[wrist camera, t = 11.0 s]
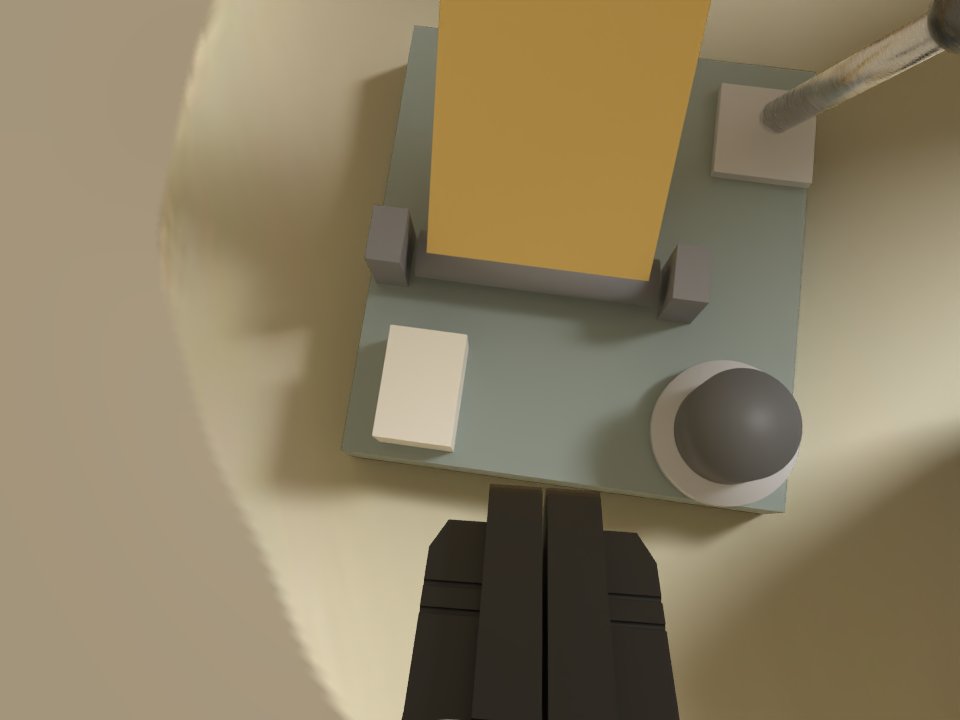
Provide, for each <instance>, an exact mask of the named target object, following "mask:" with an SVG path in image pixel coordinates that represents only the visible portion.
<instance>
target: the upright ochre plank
mask: <svg viewBox="0 0 960 720" xmlns="http://www.w3.org/2000/svg"><path fill="white" fill-rule="evenodd" d="M710 3H711V0H440V12H439V30H438V49H437V67H436V86H435V104H434V123H433V141H432V160H431V179H430V197H429V216H428V230H421V231H420V234H419V238H418V243H417V249H416V258H415V275H416V277H423V278H430V279H438V280H446V281H454V282H461V283H469V284H477V285H484V286H492V287H500V288H507V289H515V290H523V291H530V292H538V293H546V294H554V295H561V296H569V297H577V298H584V299H592V300H600V301H607V302H615V303H623V304H630V305H638V306H646V307H653V306H654V303H655V300H656V297H657V292H658V287H659V280H660V268H661V265H660V260H658V259H654V255H655V250H656V246H657V241H658V237H659V232H660V228H661V223H662V219H663V214H664V210H665V205H666V201H667V196H668V192H669V187H670V183H671V178H672V174H673V169H674V165H675V160H676V156H677V151H678V147H679V142H680V138H681V133H682V129H683V124H684V120H685V115H686V111H687V106H688V102H689V97H690V93H691V88H692V84H693V79H694V75H695V70H696V66H697V61H698V57H699V52H700V48H701V43H702V39H703V34H704V30H705V25H706V21H707V16H708V12H709V7H710Z"/></svg>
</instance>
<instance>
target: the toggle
mask: <svg viewBox="0 0 960 720" xmlns="http://www.w3.org/2000/svg"><path fill="white" fill-rule="evenodd" d="M945 50H946V51H949V52H951V53H956V54H960V0H932V2H931V4H930V7H929V10H928V13H926V14H924V15H923V16H921V17H919V18H917V19H915V20H914V21H912V22H910V23H908V24H907V25H905V26H903V27H901V28H900V29H898V30H896V31H894V32H892V33H891V34H889V35H887V36H885V37H884V38H882V39H880V40H878V41H876V42H875V43H873V44H871V45H869V46H868V47H866V48H864V49H862V50H861V51H859V52H857V53H855V54H853V55H852V56H850V57H848V58H846V59H845V60H843V61H841V62H839V63H837V64H836V65H834V66H832V67H830V68H829V69H827V70H825V71H823V72H821V73H820V74H818V75H816V76H814V77H813V78H811V79H809V80H807V81H806V82H804V83H802V84H800V85H798V86H797V87H795V88H793V89H791V90H790V91H788V92H786V93H784V94H782V95H781V96H779V97H777V98H775V99H774V100H772V101H770V102H768V103H767V104H766V105H765V106H764V107H763V108H762V110H761V112H760V115H759V122H760V125H761V127H762V128H763V130H765V131H766V132H768V133H770V134H781V133H783V132H785V131H787V130H789V129H791V128H793V127H795V126H797V125H799V124H801V123H803V122H805V121H807V120H809V119H811V118H813V117H815V116H817V115H819V114H821V113H823V112H825V111H827V110H829V109H831V108H833V107H835V106H837V105H838V104H840V103H842V102H844V101H846V100H848V99H850V98H852V97H854V96H856V95H858V94H860V93H862V92H864V91H866V90H868V89H870V88H872V87H874V86H876V85H878V84H880V83H882V82H884V81H886V80H888V79H890V78H892V77H894V76H896V75H898V74H900V73H902V72H904V71H906V70H907V69H909V68H911V67H913V66H915V65H917V64H919V63H921V62H923V61H925V60H927V59H929V58H931V57H933V56H935V55H937V54H939V53H941V52H943V51H945Z"/></svg>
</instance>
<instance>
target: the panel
mask: <svg viewBox="0 0 960 720" xmlns="http://www.w3.org/2000/svg"><path fill="white" fill-rule="evenodd" d="M438 30H439V28H432V27H424V26H415V25H414V30H413V36H412V42H411V47H410V53H409V59H408V65H407V71H406V76H405V82H404V88H403V94H402V100H401V105H400V111H399V117H398V123H397V128H396V134H395V140H394V146H393V152H392V157H391V163H390V169H389V175H388V181H387V186H386V192H385V198H384V204H383V206H381V205H374V206H373V212H372V218H371V224H370V229H369V235H368V241H367V246H366V252H365V260H366V262H367V265H368V267H369V269H370V271H371V279H370V285H369V290H368V296H367V302H366V308H365V314H364V319H363V325H362V331H361V337H360V342H359V348H358V354H357V360H356V366H355V371H354V377H353V383H352V389H351V395H350V400H349V406H348V412H347V418H346V423H345V429H344V435H343V441H342V447H341V451H343V452H345V453H347V454H349V455H351V456H354V457H361V458H368V459H375V460H382V461H389V462H397V463H404V464H411V465H418V466H425V467H432V468H439V469H446V470H453V471H461V472H468V473H475V474H482V475H489V476H496V477H503V478H510V479H517V480H525V481H532V482H539V483H546V484H553V485H560V486H567V487H574V488H581V489H589V490H596V491H603V492H610V493H617V494H624V495H631V496H638V497H645V498H653V499H660V500H667V501H674V502H681V503H688V504H695V505H702V506H709V507H717V508H724V509H731V510H738V511H745V512H752V513H759V514H772V513H785V503H786V488H787V478H788V476H789V474H790V473H791V471H792V469H793V467H794V465H795V463H796V460H797V456H798V453H799V447H800V441H801V436H802V419H801V414H800V410H799V407H798V405H797V402H796V401H795V399H794V397H793V388H794V374H795V359H796V345H797V331H798V316H799V302H800V288H801V274H802V259H803V245H804V231H805V216H806V202H807V189H808V187H809V186H810V185H811V184H812V177H813V163H814V148H815V134H816V119H817V116H815V117H813V118H811V119H809V120H807V121H805V122H803V123H801V124H799V125H797V126H795V127H793V128H791V129H789V130H787V131H785V132H783V133H781V134H770V133H768V132H766V131H765V130H763V128H762V127H761V125H760V122H759V115H760V112H761V110H762V108H763V107H764V106H765V105H766V104H767V103H768V102H770V101H772V100H774V99H775V98H777V97H779V96H781V95H782V94H784V93H786V92H788V91H790V90H791V89H793V88H795V87H797V86H798V85H800V84H802V83H804V82H806V81H807V80H809V79H811V78H813V77H814V76H815V73H816V72H812V71H803V70H794V69H786V68H777V67H769V66H760V65H751V64H743V63H734V62H725V61H717V60H708V59H700V58H698V61H697V66H696V70H695V75H694V79H693V84H692V88H691V93H690V97H689V102H688V106H687V111H686V115H685V120H684V124H683V129H682V133H681V138H680V142H679V147H678V151H677V156H676V160H675V165H674V169H673V174H672V178H671V183H670V187H669V192H668V196H667V201H666V205H665V210H664V214H663V219H662V223H661V228H660V232H659V237H658V241H657V246H656V250H655V255H654V259H658V260H660V265H661V268H660V280H659V287H658V292H657V297H656V300H655V303H654V306H653V307H646V306H638V305H630V304H623V303H615V302H607V301H600V300H592V299H584V298H577V297H569V296H561V295H554V294H546V293H538V292H530V291H523V290H515V289H507V288H500V287H492V286H484V285H477V284H469V283H461V282H454V281H446V280H438V279H430V278H423V277H416V275H415V258H416V249H417V243H418V238H419V234H420V231H421V230H428V216H429V197H430V179H431V160H432V141H433V123H434V104H435V86H436V67H437V49H438Z"/></svg>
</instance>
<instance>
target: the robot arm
mask: <svg viewBox="0 0 960 720" xmlns="http://www.w3.org/2000/svg"><path fill="white" fill-rule="evenodd" d="M402 720H679V713H678V707H677V700H676V693H675V686H674V679H673V673H672V666H671V659H670V652H669V645H668V638H667V632H666V631H665V618H664V611H663V604H662V603H661V591H660V584H659V577H658V570H657V563H656V562H655V560H654V559H653V557H652V556H651V554H650V553H649V551H648V550H647V548H646V547H645V545H644V543H643V542H642V540H641V539H640V537H639V536H638V534H637V533H629V532H616V531H603V522H602V510H601V498H600V493H599V492H596V491H583V490H569V489H555V488H546V492H545V499H544V508H543V517H542V488H537V487H524V486H510V485H496V484H490V491H489V504H488V516H487V522H476V521H462V520H448V522H447V523H446V524H445V526H444V527H443V528H442V530H441V531H440V532H439V534H438V535H437V537H436V538H435V539H434V541H433V542H432V543H431V545H430V546H429V551H428V558H427V564H426V571H425V577H424V585H423V590H422V596H421V603H420V612H419V616H418V622H417V629H416V635H415V641H414V648H413V654H412V661H411V667H410V674H409V680H408V687H407V693H406V700H405V706H404V712H403V716H402Z"/></svg>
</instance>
